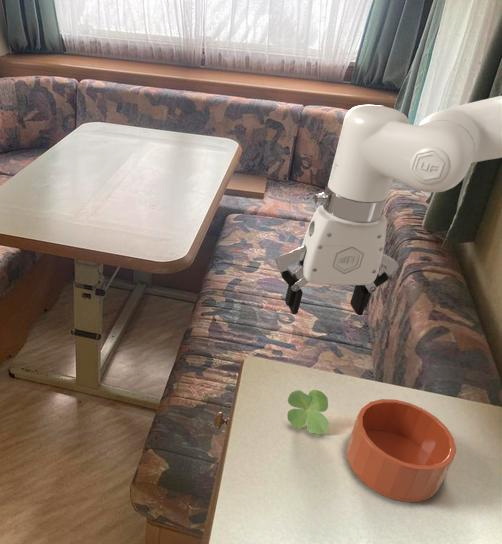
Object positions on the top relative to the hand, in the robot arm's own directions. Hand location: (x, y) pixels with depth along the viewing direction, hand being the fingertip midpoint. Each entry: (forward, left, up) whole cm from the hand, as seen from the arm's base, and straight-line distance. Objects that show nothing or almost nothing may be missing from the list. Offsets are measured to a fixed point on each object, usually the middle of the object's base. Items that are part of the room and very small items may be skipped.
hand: (324, 309), depth 85 cm
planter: (-12, +10, -21) cm, 26 cm away
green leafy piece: (-2, +2, -21) cm, 21 cm away
